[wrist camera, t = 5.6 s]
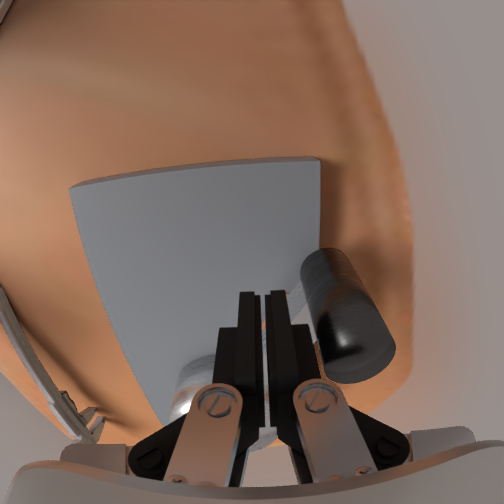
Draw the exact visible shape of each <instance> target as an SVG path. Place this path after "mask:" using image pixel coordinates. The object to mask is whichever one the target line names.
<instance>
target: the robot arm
mask: <svg viewBox="0 0 504 504" xmlns="http://www.w3.org/2000/svg"><path fill="white" fill-rule="evenodd" d="M12 1H13V0H0V23H1V22H2V20H3V18H4V16H5V14H6V12H7V11H8V9H9V7H10V5H11V3H12ZM265 323H266V354H267V373H268V393H269V413H270V427H276V431H277V435H278V439H280V440H281V441H282V442H284V443H285V444H287V445H288V449H289V452H290V456H291V460H292V464H293V467H294V471H295V474H296V478H297V482H298V485H290V486H276V487H242V484H243V479H244V474H245V470H246V465H247V459H248V454H249V447H250V446H251V445H253V444H254V443H255V442H256V441H257V440H259V428H263V427H265V398H264V370H263V344H262V320H261V296H260V295H255V292H254V291H246V292H240V293H239V308H238V323H237V327H220V328H219V333H218V340H217V348H216V355H215V363H214V371H213V378H212V384H210V385H207V386H205V387H203V388H201V389H200V390H199V391H198V392H196V394H195V396H194V397H193V399H192V402H191V405H190V407H189V410H188V412H187V413H185V414H184V415H182V416H181V417H179V418H178V419H176V420H175V421H173V422H171V423H170V424H168V425H167V426H165V427H163V428H162V429H160V430H159V431H157V432H155V433H154V434H152V435H150V436H149V437H147V438H145V439H144V440H142V441H140V442H138V443H137V444H136V445H135V446H127V445H126V444H82V443H75V444H70V445H69V446H67V447H65V449H64V450H63V451H62V453H61V457H60V461H57V460H55V461H54V460H45V461H37V462H32V463H28V464H26V465H24V466H23V467H21V468H20V469H19V470H18V471H17V473H16V474H15V476H14V477H13V479H12V481H11V483H10V485H9V486H8V489H7V491H6V494H5V496H4V499H3V502H2V504H504V441H502V440H484V441H477V442H476V440H475V437H474V435H473V432H472V431H471V430H469V429H468V428H466V427H464V426H456V427H448V428H440V429H430V430H419V431H411V432H410V433H409V434H402V433H401V432H399V431H398V430H396V429H394V428H392V427H389V426H388V425H385V424H383V423H381V422H379V421H377V420H375V419H373V418H371V417H369V416H368V415H366V414H364V413H362V412H360V411H358V410H356V409H354V408H352V407H351V406H349V405H348V404H347V401H346V399H345V397H344V395H343V393H342V391H341V390H340V388H339V387H338V386H337V385H336V384H334V383H333V382H331V381H328V380H325V379H321V376H320V371H319V367H318V362H317V358H316V354H315V349H314V345H313V341H312V336H311V332H310V328H309V325H308V324H293V325H291V321H290V315H289V309H288V303H287V297H286V291H285V290H270V294H268V295H265Z"/></svg>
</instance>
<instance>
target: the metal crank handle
mask: <svg viewBox="0 0 504 504" xmlns="http://www.w3.org/2000/svg"><path fill="white" fill-rule="evenodd" d="M287 303H288V309H289V315H290V321H291V325H293V324H308V325H309V328H310V332H311V336H312V341H313V344H314V343H315V342H316V341H317V343H318V347H319V351H320V355H321V359H322V363H323V367H324V371H325V374H326V376H327V377H328V378H329V379H331V380H332V381H334V382H337V383H342V384H351V383H358V382H361V381H364V380H367V379H369V378H371V377H373V376H375V375H377V374H378V373H380V372H381V371H382V370H383V369H385V368H386V367H387V366H388V364H389V363H390V362H391V360H392V359H393V357H394V354H395V350H396V345H395V342H394V340H393V338H392V336H391V334H390V332H389V330H388V328H387V326H386V324H385V323H384V321H383V319H382V317H381V315H380V313H379V312H378V310H377V308H376V306H375V304H374V303H373V301H372V299H371V297H370V295H369V294H368V292H367V290H366V288H365V287H364V285H363V283H362V282H361V280H360V278H359V276H358V275H357V273H356V271H355V270H354V268H353V266H352V265H351V263H350V261H349V260H348V258H347V256H346V255H345V254H344V253H343V252H341V251H339V250H337V249H334V248H323V249H319V250H317V251H315V252H313V253H311V254H310V255H309V256H308V257H307V258H306V259H305V260H304V262H303V263H302V265H301V268H300V280H299V281H298V283H297V284H296V285H295V287H294V288H293V290H292V291H291V292H290V294H289V295H288V296H287ZM262 344H263V370H264V398H265V427H263V428H259V440H257V441H256V442H255V443H254V444H253V445H251V446H250V447H249V452H253V451H257V450H260V449H262V448H264V447H267V446H268V445H270V444H271V443H273V442H274V441H275V439H276V438H277V436H278V435H277V431H276V427H270V413H269V393H268V373H267V354H266V326H265V327H264V328H263V330H262ZM214 363H215V356H207V357H203V358H199V359H196V360H194V361H192V362H190V363H188V364H187V365H185V366H184V367H183V368H182V370H181V371H180V373H179V375H178V380H177V384H176V389H175V393H174V398H173V403H172V407H171V412H170V417H169V422H168V424H170V423H171V422H173V421H175V420H176V419H178V418H179V417H181V416H182V415H184V414H185V413H187V412H188V410H189V407H190V405H191V402H192V399H193V397H194V396H195V394H196V392H198V391H199V390H200V389H201V388H203V387H205V386H207V385H210V384H212V378H213V371H214Z"/></svg>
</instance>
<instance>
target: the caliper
mask: <svg viewBox="0 0 504 504" xmlns="http://www.w3.org/2000/svg"><path fill="white" fill-rule="evenodd" d="M0 321H1V324H2V326H3V328H4V330H5V332H6V334H7V335H8V337H9V339H10V341H11V343H12V345H13V347H14V348H15V350H16V352H17V354H18V355H19V357H20V359H21V360H22V362H23V364H24V365H25V367H26V369H27V370H28V372H29V373H30V375H31V377H32V378H33V380H34V381H35V383H36V384H37V386H38V387H39V389H40V390H41V391H42V393H43V394H44V396H45V397H46V398H47V400H48V401H49V403H48V406H49V408H50V409H51V411H52V412H53V413H54V415H55V416H56V417H57V418H58V420H59V421H60V422H61V424H62V425H63V426H64V427H65V428H66V430H67V431H68V432H69V433H70V434H71V435H72V436H75V438H76V439H75V440H74V441H73V443H72V444H75V443H82V444H97V442H98V441H99V438H100V435H101V433H102V430H103V427H104V424H105V418H104V417H103V416H98V417H97V418H96V420H95V421H94V423H93V424H92V425H91V427H90V428H89V429H87V427H86V425H87V424H88V423H89V422H90V420H91V419H92V417H93V416H94V415H95V412H96V411H97V409H96V408H95V407H88V408H86V409H85V410H83V411H82V412H80V413H78V412H77V408H76V406H75V403H74V402H73V400H71V399H70V397H69V395H68V393H67V391H59V390H58V388H57V387H56V386H55V384H54V383H53V381H52V380H51V378H50V377H49V375H48V373H47V372H46V370H45V369H44V367H43V365H42V364H41V362H40V361H39V359H38V357H37V356H36V354H35V352H34V350H33V349H32V347H31V345H30V343H29V341H28V339H27V338H26V336H25V334H24V332H23V330H22V328H21V326H20V324H19V322H18V320H17V318H16V316H15V314H14V311H13V309H12V307H11V305H10V303H9V300H8V298H7V296H6V294H5V292H4V291H3V289H2V287H1V286H0Z"/></svg>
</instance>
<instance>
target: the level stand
mask: <svg viewBox="0 0 504 504" xmlns="http://www.w3.org/2000/svg"><path fill="white" fill-rule="evenodd" d="M69 193H70V198H71V202H72V206H73V210H74V214H75V218H76V222H77V226H78V230H79V233H80V237H81V241H82V244H83V247H84V251H85V254H86V257H87V260H88V263H89V267H90V270H91V273H92V276H93V278H94V281H95V284H96V287H97V290H98V293H99V295H100V298H101V301H102V303H103V306H104V308H105V311H106V313H107V316H108V318H109V321H110V323H111V326H112V328H113V330H114V333H115V335H116V337H117V339H118V342H119V344H120V346H121V348H122V350H123V353H124V355H125V357H126V359H127V361H128V363H129V365H130V367H131V369H132V371H133V373H134V375H135V377H136V379H137V381H138V383H139V385H140V387H141V389H142V391H143V392H144V394H145V396H146V398H147V400H148V402H149V403H150V405H151V407H152V409H153V410H154V412H155V414H156V415H157V417H158V419H159V421H160V422H161V424H162V425H165V426H167V425H168V422H169V417H170V412H171V407H172V403H173V398H174V393H175V389H176V384H177V380H178V375H179V373H180V371H181V370H182V368H183V367H184V366H185V365H187V364H188V363H190V362H192V361H194V360H196V359H199V358H203V357H207V356H215V355H216V348H217V340H218V333H219V328H220V327H237V323H238V308H239V293H240V292H246V291H254V292H255V295H260V296H261V320H262V330H263V328H264V327H265V326H266V323H265V295H268V294H270V290H285V291H286V297H287V296H288V295H289V294H290V292H291V291H292V290H293V288H294V287H295V285H296V284H297V283H298V281H299V280H300V268H301V265H302V263H303V262H304V260H305V259H306V258H307V257H308V256H309V255H310V254H311V253H313V252H315V251H317V250H319V235H320V161H319V160H318V159H316V158H315V157H281V158H260V159H244V160H231V161H219V162H208V163H199V164H189V165H181V166H173V167H165V168H158V169H151V170H144V171H138V172H131V173H125V174H119V175H114V176H108V177H103V178H98V179H93V180H88V181H83V182H80V183H78V184H76V185H74V186H73V187H71V188H69Z"/></svg>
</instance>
